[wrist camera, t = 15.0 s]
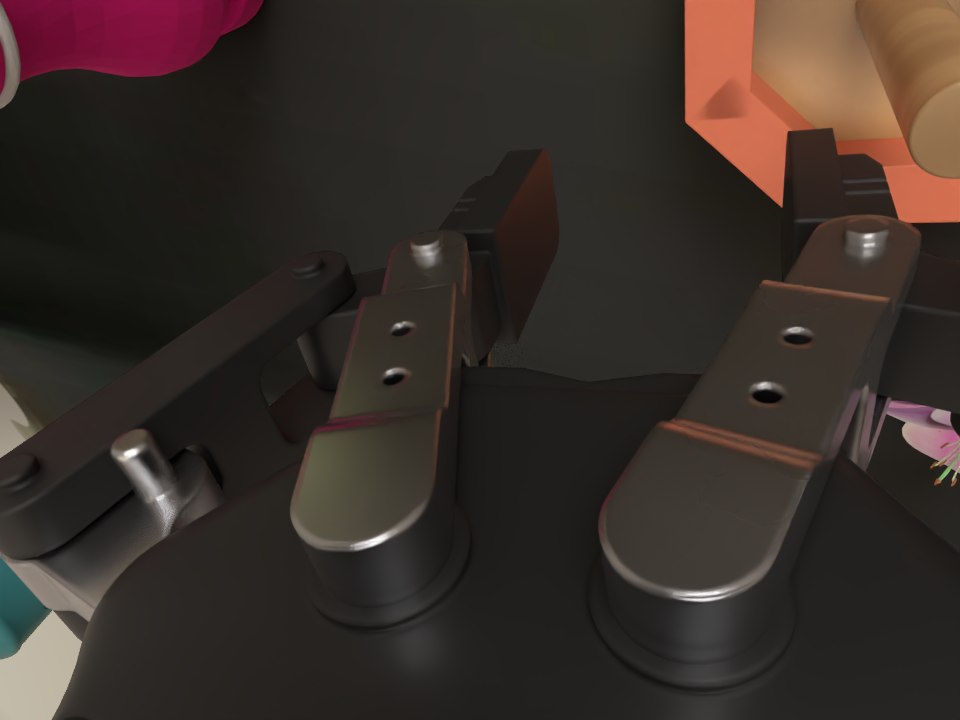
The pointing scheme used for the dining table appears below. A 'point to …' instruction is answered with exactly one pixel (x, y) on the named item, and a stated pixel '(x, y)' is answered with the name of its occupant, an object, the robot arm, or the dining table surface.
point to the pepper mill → (111, 35)
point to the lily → (929, 433)
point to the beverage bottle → (17, 611)
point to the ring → (780, 116)
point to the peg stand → (869, 70)
